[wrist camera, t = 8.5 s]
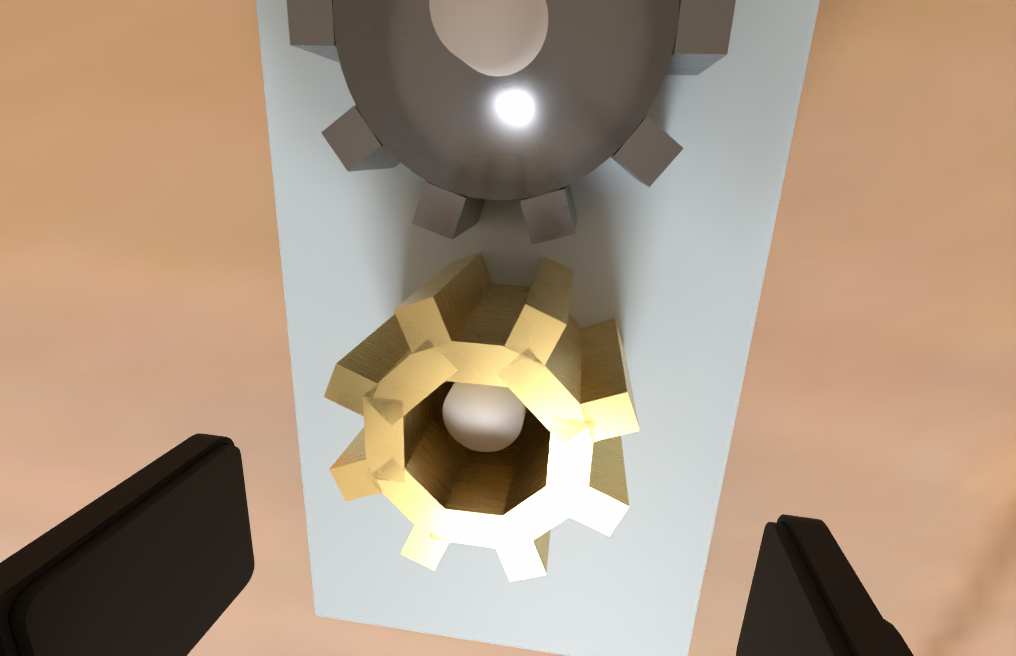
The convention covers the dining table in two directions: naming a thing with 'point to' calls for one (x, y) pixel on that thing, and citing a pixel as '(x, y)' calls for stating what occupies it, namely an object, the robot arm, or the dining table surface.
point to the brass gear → (497, 362)
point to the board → (594, 298)
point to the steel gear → (509, 101)
